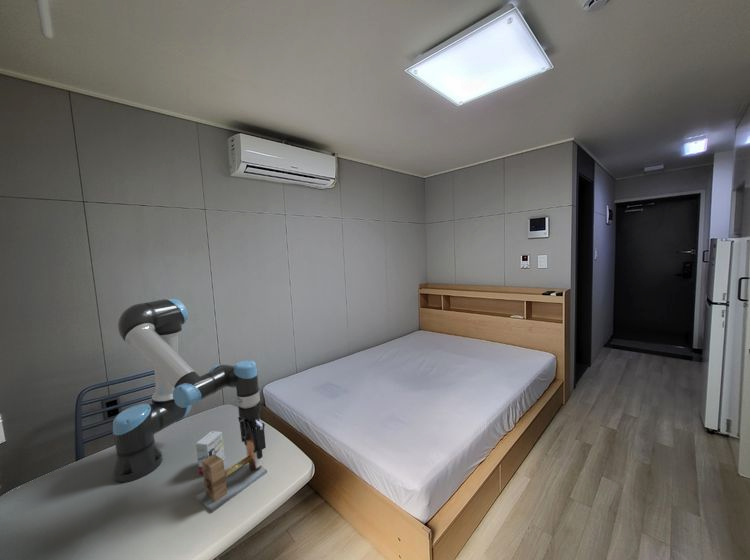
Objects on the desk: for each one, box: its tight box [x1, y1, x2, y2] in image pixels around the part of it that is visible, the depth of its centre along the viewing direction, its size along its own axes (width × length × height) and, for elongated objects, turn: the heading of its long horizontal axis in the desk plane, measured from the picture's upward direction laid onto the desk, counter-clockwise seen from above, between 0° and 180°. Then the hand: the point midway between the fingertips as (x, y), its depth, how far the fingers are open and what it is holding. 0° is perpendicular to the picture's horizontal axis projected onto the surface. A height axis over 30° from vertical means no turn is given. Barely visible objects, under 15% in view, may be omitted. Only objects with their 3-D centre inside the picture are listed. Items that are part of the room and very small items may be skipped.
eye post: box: [196, 454, 268, 513], centre depth 105 cm, size 10×20×13 cm, turn 145°
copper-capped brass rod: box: [224, 437, 263, 478], centre depth 107 cm, size 4×15×11 cm, turn 145°
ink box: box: [195, 430, 226, 474], centre depth 116 cm, size 9×5×12 cm, turn 168°
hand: (255, 462), depth 112 cm, fingers closed on copper-capped brass rod, 4 cm apart
